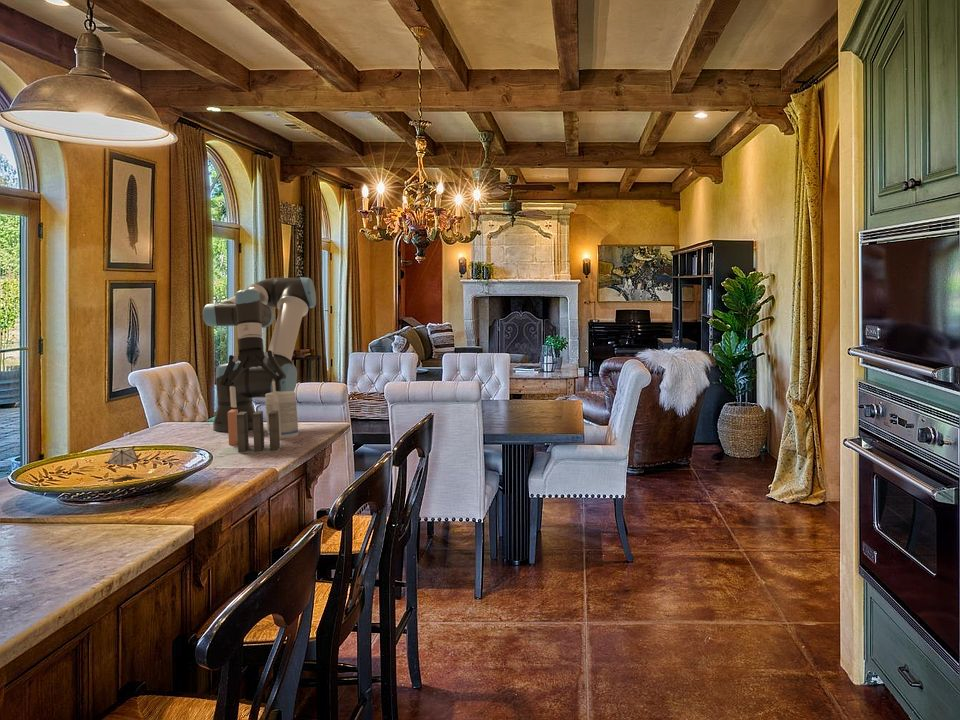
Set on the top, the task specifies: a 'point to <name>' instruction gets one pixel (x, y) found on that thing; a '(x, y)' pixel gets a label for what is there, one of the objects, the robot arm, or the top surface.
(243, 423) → the domino
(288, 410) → the supplement tub
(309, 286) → the robot arm
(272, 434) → the domino
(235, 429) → the domino
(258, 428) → the domino
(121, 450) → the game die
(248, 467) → the top surface
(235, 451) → the runner board
